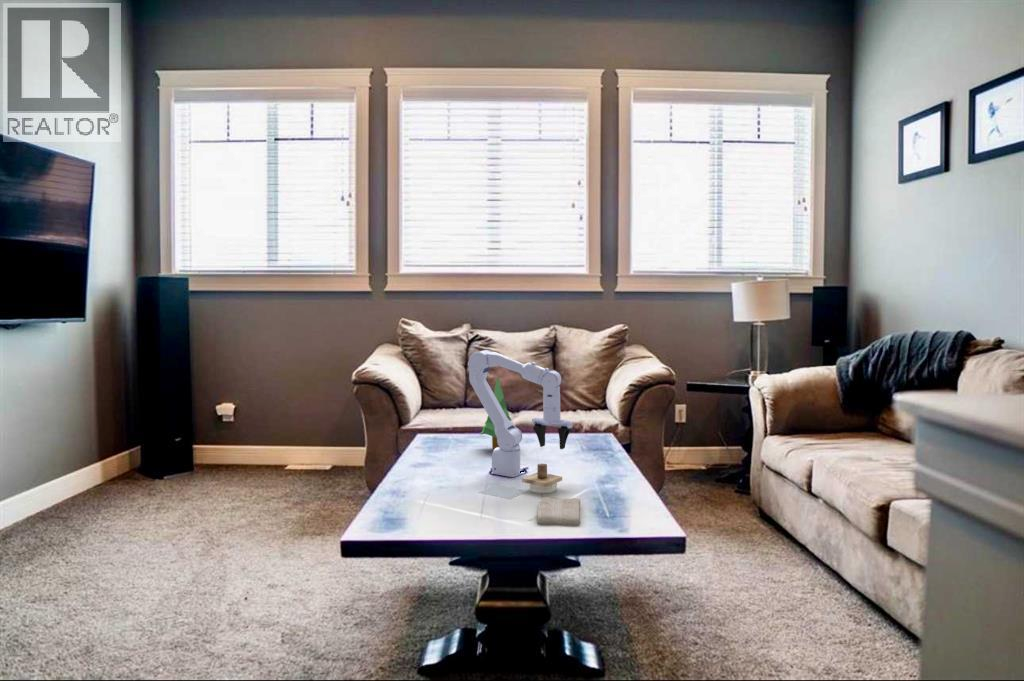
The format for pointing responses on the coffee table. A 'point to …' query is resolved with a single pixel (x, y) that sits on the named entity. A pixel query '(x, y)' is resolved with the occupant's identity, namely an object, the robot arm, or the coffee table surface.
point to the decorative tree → (489, 426)
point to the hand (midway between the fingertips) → (552, 447)
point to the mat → (503, 491)
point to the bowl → (543, 488)
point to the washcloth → (559, 511)
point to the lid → (542, 477)
